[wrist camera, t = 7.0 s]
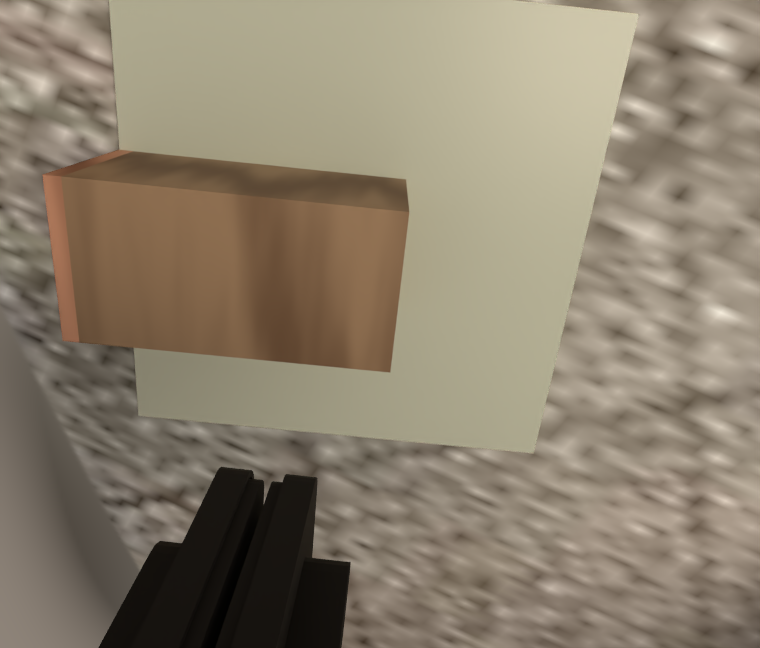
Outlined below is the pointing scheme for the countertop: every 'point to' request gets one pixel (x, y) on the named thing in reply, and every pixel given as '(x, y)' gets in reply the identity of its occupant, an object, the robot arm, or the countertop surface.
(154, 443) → the countertop surface
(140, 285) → the copper block
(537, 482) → the countertop surface
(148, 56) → the mat
